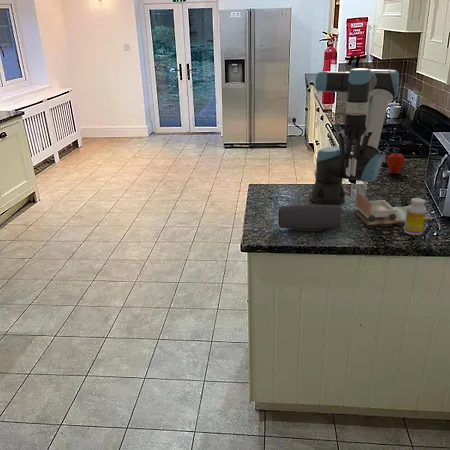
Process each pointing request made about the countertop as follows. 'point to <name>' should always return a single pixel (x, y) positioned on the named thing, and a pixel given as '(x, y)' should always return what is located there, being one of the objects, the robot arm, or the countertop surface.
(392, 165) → the apple
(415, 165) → the countertop surface
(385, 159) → the door handle
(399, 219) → the cutting board
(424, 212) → the supplement bottle
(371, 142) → the robot arm
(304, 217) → the bluetooth speaker
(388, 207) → the cart
